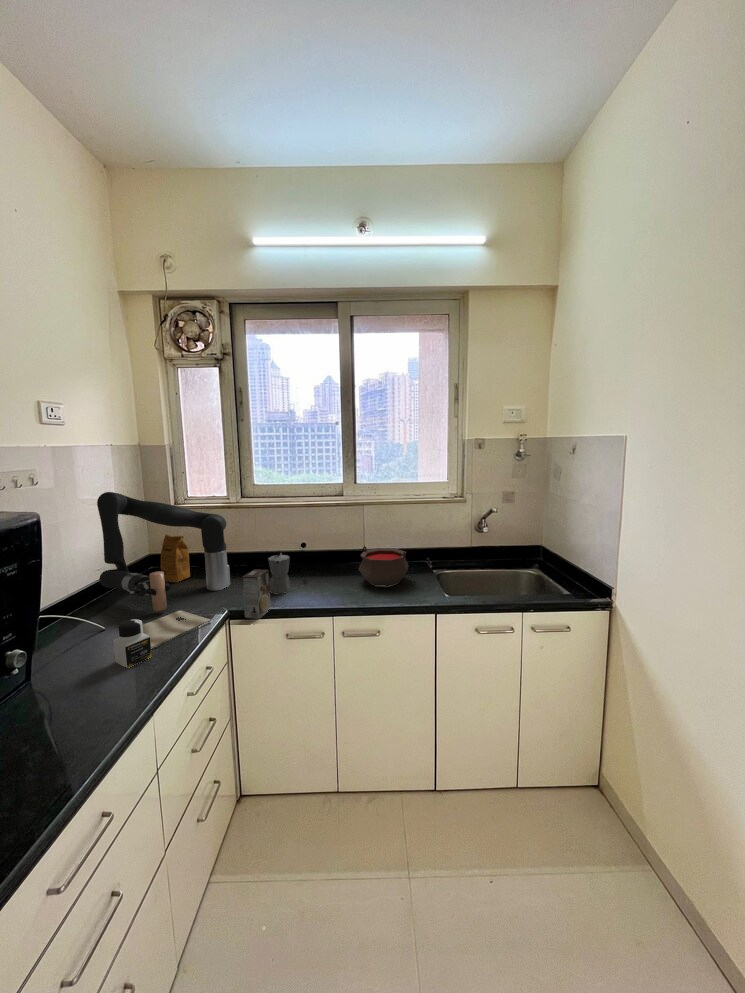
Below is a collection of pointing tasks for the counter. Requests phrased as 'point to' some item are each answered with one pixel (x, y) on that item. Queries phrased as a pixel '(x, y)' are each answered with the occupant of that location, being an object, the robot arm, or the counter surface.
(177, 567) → the coffee package
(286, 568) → the coffeepot
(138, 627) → the medicine bottle
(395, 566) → the brown cooking pot
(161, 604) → the terracotta canister
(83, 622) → the counter surface
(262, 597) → the coffee box
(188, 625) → the ash board
